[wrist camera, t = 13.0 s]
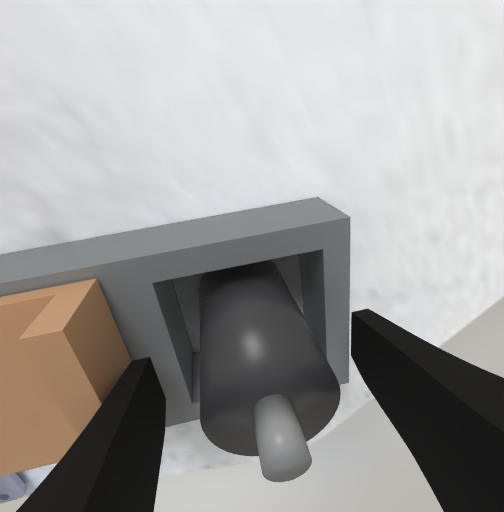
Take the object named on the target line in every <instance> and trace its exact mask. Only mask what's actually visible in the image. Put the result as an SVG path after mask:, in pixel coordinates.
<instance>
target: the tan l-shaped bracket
mask: <svg viewBox="0 0 504 512" xmlns="http://www.w3.org/2000/svg"><path fill="white" fill-rule="evenodd" d="M130 362H131V358H130V356H129V354H128V351H127V349H126V347H125V344H124V342H123V339H122V337H121V335H120V332H119V330H118V328H117V325H116V323H115V321H114V318H113V316H112V313H111V311H110V309H109V306H108V304H107V302H106V299H105V297H104V295H103V292H102V290H101V287H100V285H99V283H98V280H97V278H96V279H91V280H85V281H80V282H75V283H70V284H65V285H60V286H54V287H49V288H44V289H39V290H34V291H29V292H23V293H18V294H13V295H8V296H3V297H0V477H1V476H5V475H9V474H13V473H17V472H21V471H25V470H29V469H33V468H37V467H41V466H45V465H49V464H53V463H57V462H59V461H60V460H61V459H62V457H63V456H64V455H65V453H66V452H67V451H68V450H69V448H70V447H71V446H72V444H73V443H74V442H75V440H76V439H77V438H78V436H79V435H80V434H81V432H82V431H83V430H84V429H85V427H86V426H87V424H88V423H89V422H90V420H91V419H92V417H93V416H94V415H95V413H96V412H97V410H98V409H99V408H100V406H101V405H102V403H103V402H104V400H105V399H106V398H107V396H108V395H109V393H110V392H111V390H112V389H113V387H114V386H115V384H116V383H117V381H118V380H119V378H120V377H121V375H122V374H123V372H124V371H125V369H126V368H127V367H128V365H129V364H130Z"/></svg>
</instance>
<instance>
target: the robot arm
mask: <svg viewBox="0 0 504 512" xmlns="http://www.w3.org/2000/svg"><path fill="white" fill-rule="evenodd" d="M351 356H352V358H353V360H354V362H355V364H356V366H357V369H358V371H359V372H360V374H361V376H362V378H363V380H364V382H365V383H366V385H367V387H368V388H369V390H370V391H371V393H372V394H373V396H374V397H375V399H376V400H377V402H378V403H379V405H380V406H381V408H382V409H383V410H384V412H385V413H386V415H387V417H388V418H389V419H390V421H391V422H392V424H393V426H394V427H395V429H396V430H397V431H398V433H399V434H400V436H401V437H402V439H403V440H404V442H405V443H406V445H407V447H408V448H409V450H410V451H411V453H412V455H413V456H414V458H415V460H416V462H417V463H418V465H419V467H420V469H421V471H422V472H423V474H424V476H425V478H426V479H427V481H428V483H429V485H430V487H431V488H432V490H433V492H434V494H435V496H436V497H437V500H438V502H439V503H440V505H441V507H442V509H443V511H444V512H504V378H502V377H500V376H498V375H495V374H493V373H490V372H488V371H486V370H483V369H481V368H479V367H477V366H474V365H472V364H470V363H468V362H466V361H464V360H462V359H459V358H458V357H456V356H453V355H452V354H450V353H447V352H445V351H443V350H441V349H440V348H438V347H436V346H434V345H432V344H430V343H428V342H426V341H424V340H423V339H421V338H419V337H417V336H415V335H413V334H412V333H410V332H408V331H406V330H405V329H403V328H401V327H399V326H398V325H396V324H394V323H392V322H391V321H389V320H387V319H385V318H384V317H382V316H380V315H378V314H377V313H375V312H373V311H371V310H369V309H364V310H360V311H355V312H352V319H351ZM165 421H166V397H165V395H164V392H163V389H162V387H161V384H160V382H159V379H158V376H157V374H156V371H155V369H154V366H153V363H152V361H151V358H150V357H147V358H142V359H138V360H133V361H131V362H130V364H129V365H128V367H127V368H126V369H125V371H124V372H123V374H122V375H121V377H120V378H119V380H118V381H117V383H116V384H115V386H114V387H113V389H112V390H111V392H110V393H109V395H108V396H107V398H106V399H105V400H104V402H103V403H102V405H101V406H100V408H99V409H98V410H97V412H96V413H95V415H94V416H93V417H92V419H91V420H90V422H89V423H88V424H87V426H86V427H85V429H84V430H83V431H82V432H81V434H80V435H79V436H78V438H77V439H76V440H75V442H74V443H73V444H72V446H71V447H70V448H69V450H68V451H67V452H66V453H65V455H64V456H63V457H62V459H61V460H60V461H59V462H58V464H57V465H56V466H55V467H54V468H53V470H52V471H51V472H50V473H49V475H48V476H47V477H46V478H45V479H44V480H43V482H42V483H41V484H40V485H39V486H38V487H37V488H36V490H35V491H34V492H33V493H32V494H31V495H30V497H29V498H28V499H27V500H26V501H25V502H24V504H22V506H21V507H20V508H19V509H18V510H17V511H16V512H153V511H154V504H155V498H156V491H157V484H158V477H159V470H160V464H161V457H162V450H163V442H164V435H165ZM26 489H27V486H26V484H25V483H24V482H23V481H22V480H21V478H20V477H19V476H18V475H17V474H16V473H13V474H9V475H5V476H1V477H0V503H3V502H7V501H11V500H15V499H18V498H21V497H22V496H23V495H24V493H25V491H26Z"/></svg>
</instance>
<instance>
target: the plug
mask: <svg viewBox="0 0 504 512" xmlns="http://www.w3.org/2000/svg"><path fill="white" fill-rule="evenodd" d="M199 294H200V421H201V426H202V429H203V431H204V433H205V435H206V436H207V438H208V439H209V440H210V441H211V442H212V443H213V444H214V445H216V446H217V447H219V448H221V449H223V450H225V451H227V452H230V453H233V454H238V455H244V456H259V458H260V463H261V468H262V474H263V476H264V477H265V478H266V479H268V480H270V481H273V482H285V481H290V480H293V479H295V478H297V477H299V476H301V475H302V474H304V473H305V472H306V471H307V470H308V469H309V467H310V465H311V463H312V458H311V455H310V452H309V449H308V446H307V443H306V441H308V440H310V439H311V438H313V437H314V436H315V435H317V434H318V433H319V432H320V431H321V430H322V429H323V428H324V427H325V426H326V425H327V424H328V423H329V422H330V420H331V419H332V417H333V416H334V414H335V412H336V410H337V408H338V405H339V401H340V386H339V382H338V380H337V378H336V376H335V374H334V372H333V370H332V368H331V366H330V365H329V363H328V361H327V359H326V357H325V355H324V354H323V352H322V350H321V348H320V346H319V344H318V342H317V341H316V339H315V337H314V335H313V333H312V331H311V330H310V328H309V326H308V324H307V322H306V320H305V318H304V317H303V315H302V313H301V311H300V309H299V307H298V306H297V304H296V302H295V300H294V298H293V296H292V294H291V293H290V291H289V289H288V287H287V285H286V283H285V282H284V280H283V278H282V276H281V274H280V272H279V271H278V269H277V267H276V266H275V265H274V264H273V263H272V262H271V261H270V260H266V261H261V262H256V263H251V264H245V265H240V266H235V267H230V268H225V269H220V270H215V271H210V272H205V274H204V276H203V278H202V280H201V284H200V291H199Z"/></svg>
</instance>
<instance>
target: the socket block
mask: <svg viewBox="0 0 504 512" xmlns="http://www.w3.org/2000/svg"><path fill="white" fill-rule="evenodd" d="M296 254H300V264H301V278H302V292H303V306H304V318H305V320H306V322H307V324H308V326H309V328H310V330H311V331H312V333H313V335H314V337H315V339H316V341H317V342H318V344H319V346H320V348H321V350H322V352H323V354H324V355H325V357H326V359H327V361H328V363H329V365H330V366H331V368H332V370H333V372H334V374H335V376H336V378H337V380H338V382H339V385H340V384H345V383H349V297H350V217H349V216H348V215H346V214H344V213H343V212H341V211H340V210H338V209H336V208H335V207H333V206H332V205H330V204H328V203H327V202H325V201H323V200H322V199H320V198H319V197H316V198H311V199H305V200H300V201H294V202H289V203H283V204H278V205H272V206H267V207H261V208H256V209H250V210H245V211H239V212H234V213H228V214H223V215H217V216H212V217H206V218H201V219H195V220H190V221H184V222H178V223H173V224H167V225H162V226H156V227H151V228H145V229H140V230H134V231H129V232H123V233H118V234H112V235H107V236H101V237H96V238H90V239H85V240H79V241H74V242H68V243H63V244H57V245H52V246H46V247H41V248H35V249H30V250H24V251H18V252H13V253H7V254H2V255H0V297H3V296H8V295H13V294H18V293H23V292H29V291H34V290H39V289H44V288H49V287H54V286H60V285H65V284H70V283H75V282H80V281H85V280H91V279H96V278H97V280H98V283H99V285H100V287H101V290H102V292H103V295H104V297H105V299H106V302H107V304H108V306H109V309H110V311H111V313H112V316H113V318H114V321H115V323H116V325H117V328H118V330H119V332H120V335H121V337H122V339H123V342H124V344H125V347H126V349H127V351H128V354H129V356H130V358H131V361H133V360H138V359H142V358H147V357H150V358H151V361H152V363H153V366H154V369H155V371H156V374H157V376H158V379H159V382H160V384H161V387H162V389H163V392H164V395H165V397H166V421H165V427H168V426H172V425H176V424H180V423H185V422H189V421H193V420H197V419H200V352H199V353H195V354H193V351H192V348H191V344H190V341H189V338H188V334H187V331H186V327H185V324H184V321H183V317H182V314H181V311H180V307H179V304H178V300H177V297H176V294H175V290H174V287H173V283H172V280H171V279H175V278H180V277H185V276H190V275H195V274H200V273H205V272H210V271H215V270H220V269H225V268H230V267H235V266H240V265H245V264H251V263H256V262H261V261H266V260H271V259H276V258H281V257H286V256H291V255H296Z"/></svg>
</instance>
